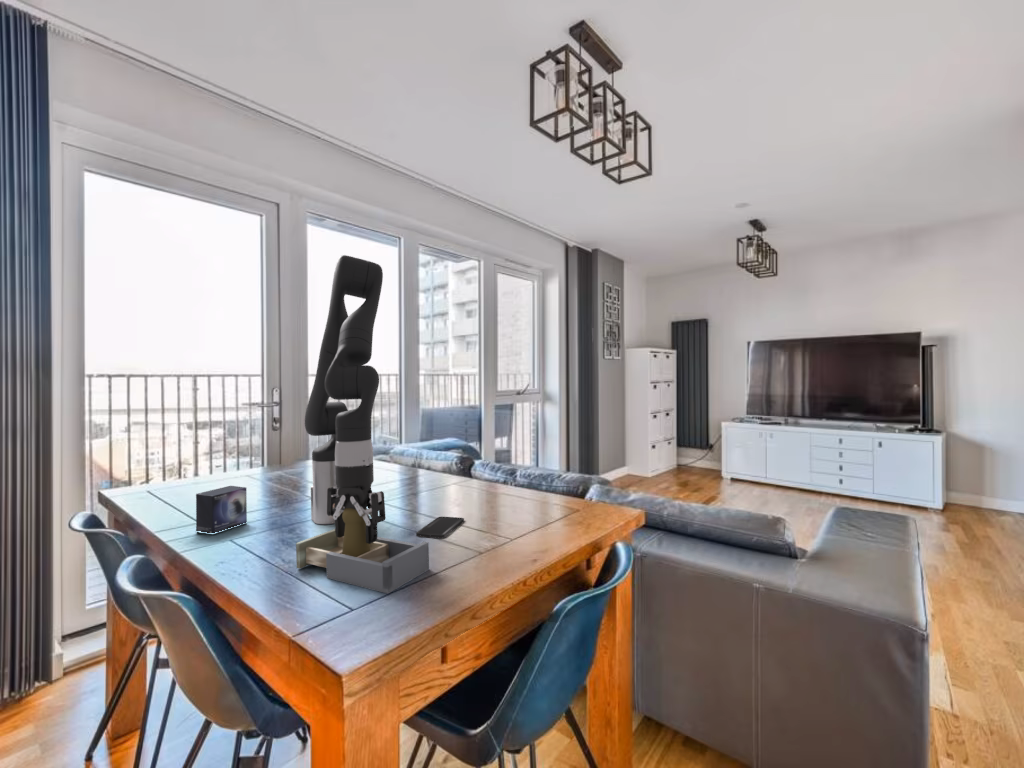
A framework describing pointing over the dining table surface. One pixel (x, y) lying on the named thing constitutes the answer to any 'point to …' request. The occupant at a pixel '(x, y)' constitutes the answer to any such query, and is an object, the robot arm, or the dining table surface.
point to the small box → (221, 509)
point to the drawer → (333, 550)
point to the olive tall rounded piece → (354, 534)
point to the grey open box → (381, 566)
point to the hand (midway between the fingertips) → (356, 539)
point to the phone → (440, 527)
